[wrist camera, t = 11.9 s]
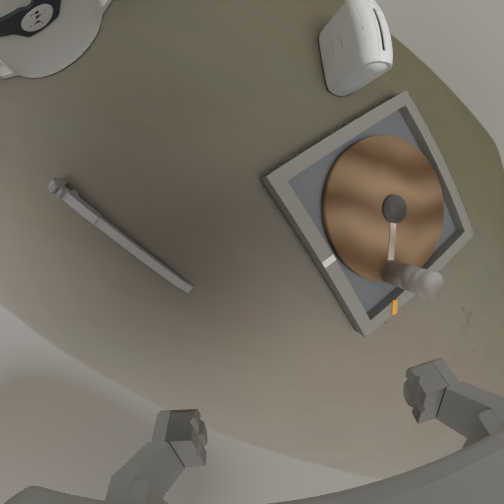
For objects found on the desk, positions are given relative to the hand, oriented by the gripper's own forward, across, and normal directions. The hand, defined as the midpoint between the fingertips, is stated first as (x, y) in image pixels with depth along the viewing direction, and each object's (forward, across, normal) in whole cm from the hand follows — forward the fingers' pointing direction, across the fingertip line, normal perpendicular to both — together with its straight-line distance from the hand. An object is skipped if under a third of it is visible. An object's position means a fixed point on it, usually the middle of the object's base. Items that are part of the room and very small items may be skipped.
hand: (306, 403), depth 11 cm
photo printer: (+36, -14, -17) cm, 42 cm away
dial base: (+32, -16, +3) cm, 36 cm away
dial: (+30, -16, +3) cm, 35 cm away
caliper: (+27, +16, -1) cm, 31 cm away
